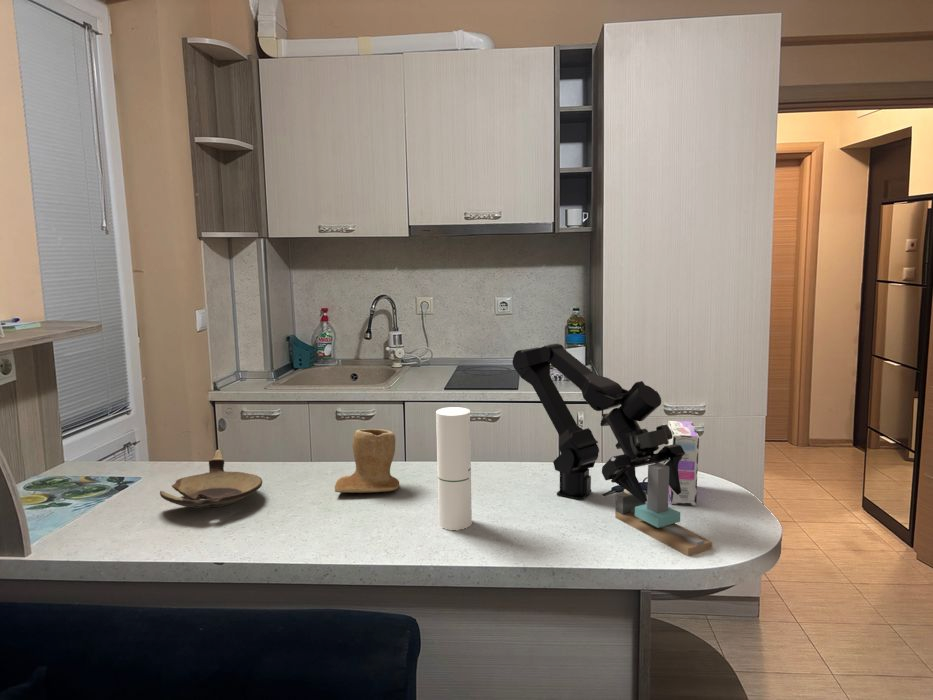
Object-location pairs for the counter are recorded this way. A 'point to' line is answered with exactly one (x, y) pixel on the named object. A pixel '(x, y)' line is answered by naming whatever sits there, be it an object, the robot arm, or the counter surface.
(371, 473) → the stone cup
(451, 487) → the cylindrical container
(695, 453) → the candy box
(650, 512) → the carriage
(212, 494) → the oil lamp
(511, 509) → the counter surface
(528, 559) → the counter surface
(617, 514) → the rail
